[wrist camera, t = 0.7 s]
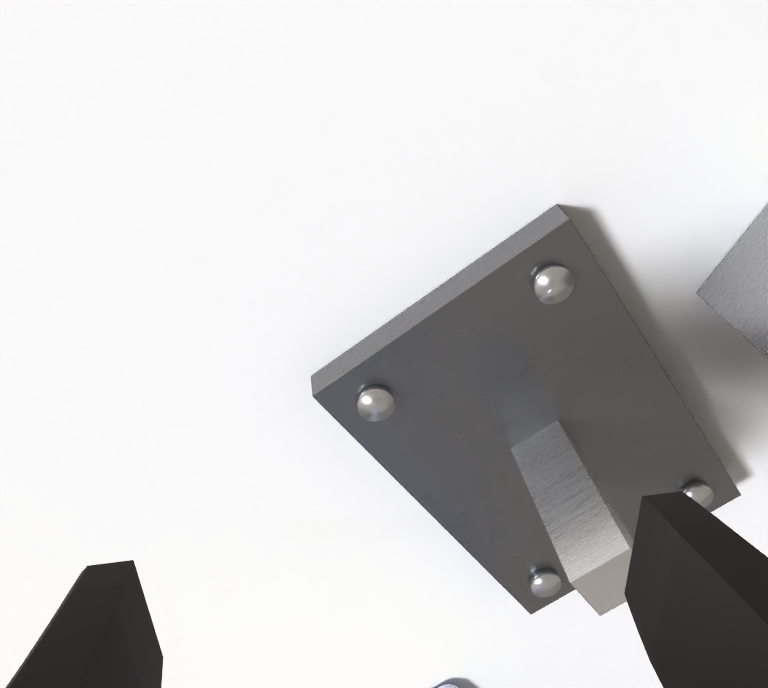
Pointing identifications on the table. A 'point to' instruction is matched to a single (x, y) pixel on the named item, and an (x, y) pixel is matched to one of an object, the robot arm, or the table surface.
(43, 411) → the table surface
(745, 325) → the tube
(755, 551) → the robot arm
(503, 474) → the plate
